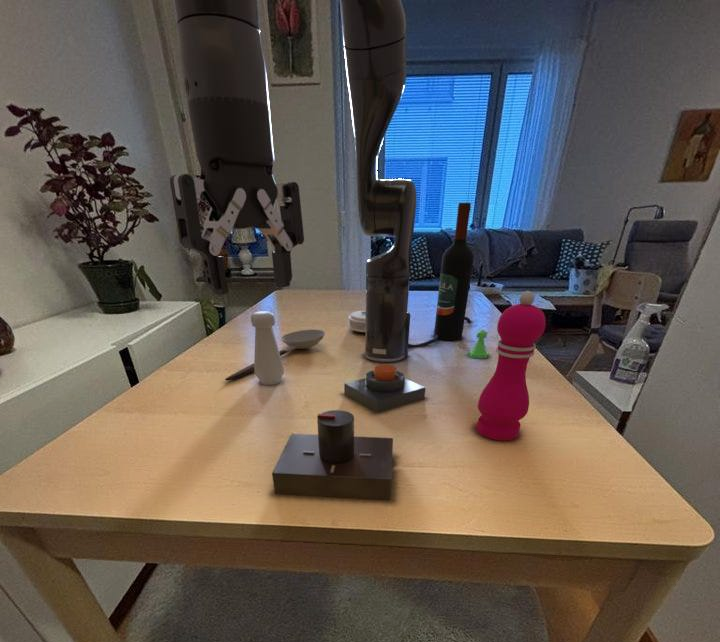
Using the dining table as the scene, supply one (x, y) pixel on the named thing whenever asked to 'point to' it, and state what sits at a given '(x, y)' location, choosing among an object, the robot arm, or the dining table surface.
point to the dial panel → (335, 469)
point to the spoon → (294, 341)
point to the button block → (384, 392)
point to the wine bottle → (454, 282)
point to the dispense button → (385, 372)
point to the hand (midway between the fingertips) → (253, 290)
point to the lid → (357, 321)
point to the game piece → (479, 346)
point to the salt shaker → (266, 349)
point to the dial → (336, 436)
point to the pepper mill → (511, 371)
